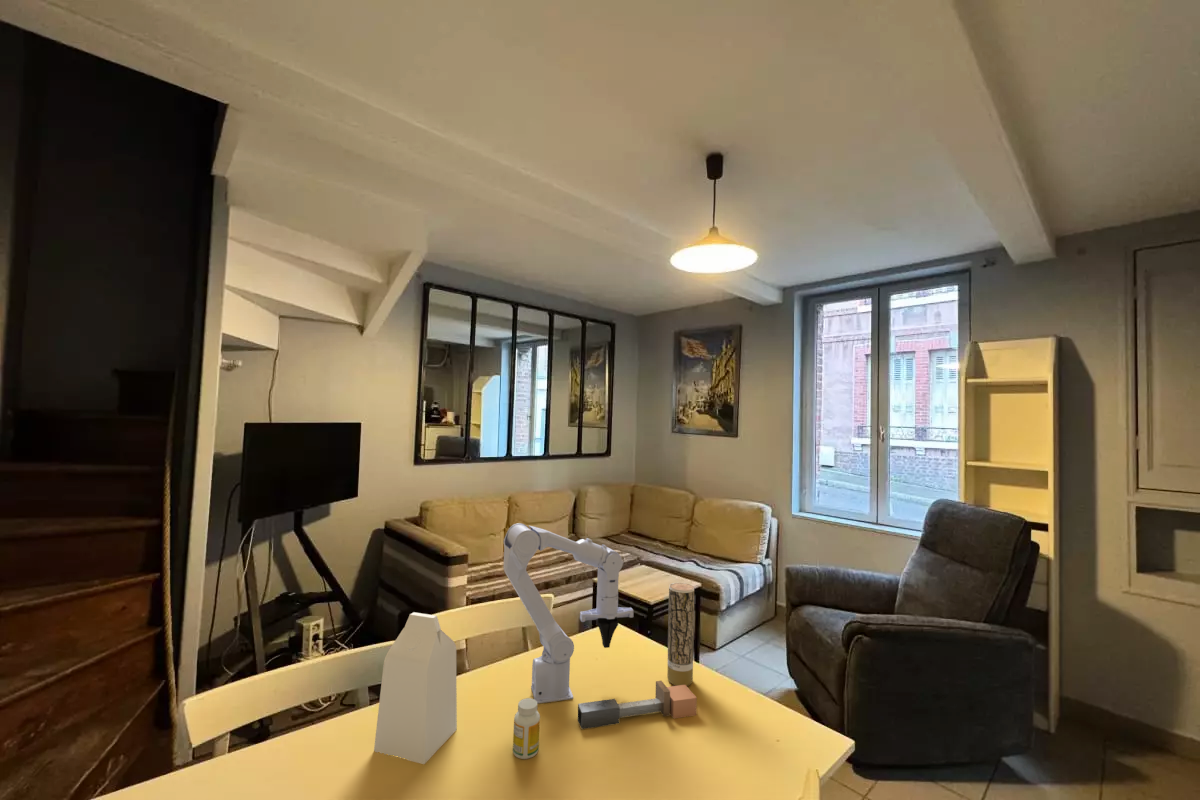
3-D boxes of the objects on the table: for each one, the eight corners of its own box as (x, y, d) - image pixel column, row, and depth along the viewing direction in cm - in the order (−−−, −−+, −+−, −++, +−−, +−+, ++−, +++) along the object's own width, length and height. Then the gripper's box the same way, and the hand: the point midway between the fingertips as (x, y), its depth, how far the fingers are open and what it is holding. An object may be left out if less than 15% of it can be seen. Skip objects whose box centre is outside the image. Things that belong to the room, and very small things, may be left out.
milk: (456, 729, 105) (462, 609, 107) (424, 764, 94) (431, 629, 96) (410, 719, 108) (416, 602, 110) (373, 751, 97) (381, 621, 99)
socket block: (673, 718, 111) (673, 700, 112) (662, 704, 117) (663, 687, 117) (696, 715, 113) (696, 697, 113) (684, 701, 119) (685, 684, 119)
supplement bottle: (511, 760, 96) (513, 711, 96) (513, 743, 101) (515, 696, 102) (538, 759, 96) (540, 710, 97) (539, 742, 102) (540, 695, 102)
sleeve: (581, 729, 106) (581, 712, 107) (577, 719, 110) (578, 703, 110) (619, 723, 109) (619, 707, 109) (614, 714, 112) (614, 698, 113)
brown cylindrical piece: (685, 690, 124) (687, 592, 125) (662, 681, 128) (664, 586, 129) (697, 680, 129) (698, 586, 131) (674, 672, 133) (676, 581, 135)
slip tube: (604, 725, 107) (605, 700, 108) (598, 712, 112) (599, 688, 112) (681, 713, 113) (681, 689, 113) (672, 702, 117) (672, 679, 118)
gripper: (585, 601, 122) (583, 655, 121) (637, 597, 126) (636, 650, 125) (578, 592, 129) (577, 643, 128) (628, 588, 133) (627, 638, 132)
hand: (606, 646), depth 127 cm, fingers closed
